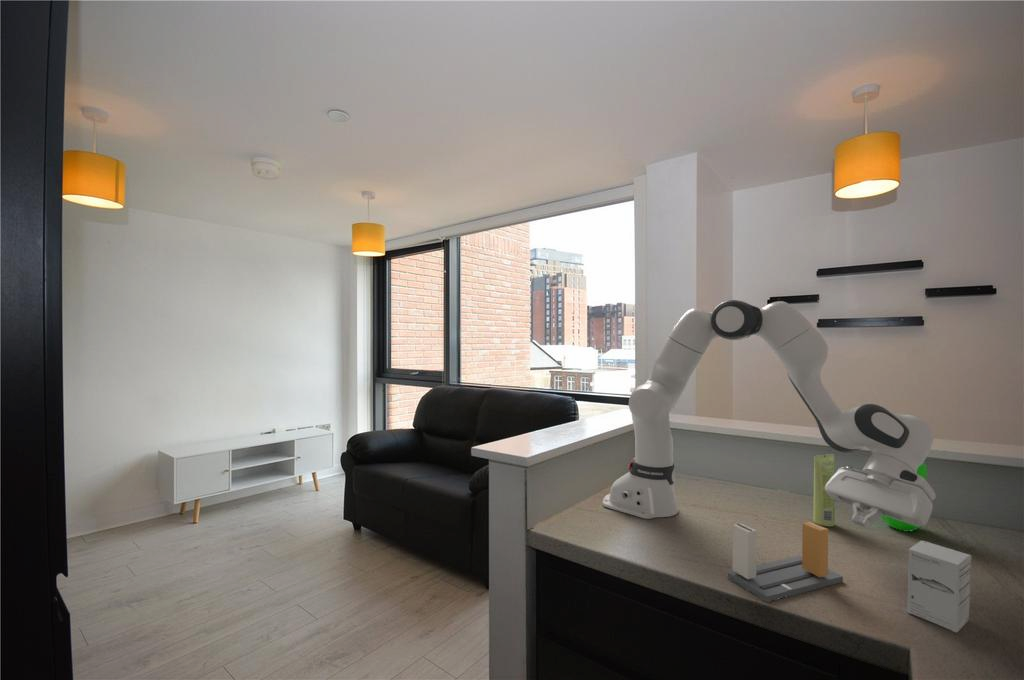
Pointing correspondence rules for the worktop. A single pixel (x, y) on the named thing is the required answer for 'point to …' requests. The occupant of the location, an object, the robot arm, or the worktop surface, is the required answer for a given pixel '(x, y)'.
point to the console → (783, 579)
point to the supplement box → (939, 585)
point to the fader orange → (815, 549)
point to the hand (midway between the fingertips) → (858, 524)
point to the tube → (823, 490)
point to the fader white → (744, 550)
